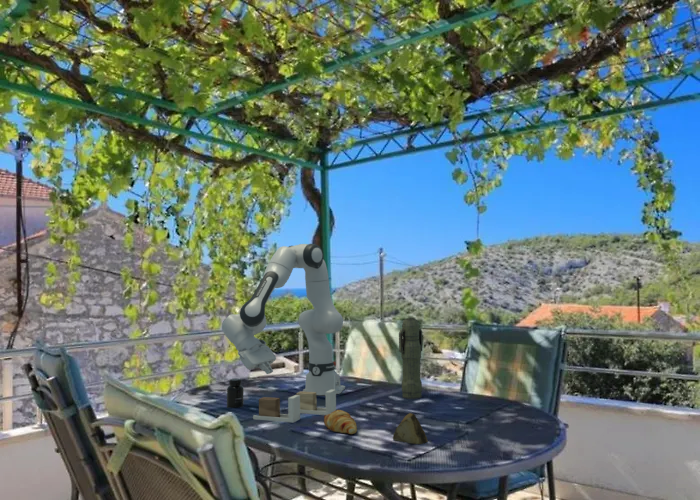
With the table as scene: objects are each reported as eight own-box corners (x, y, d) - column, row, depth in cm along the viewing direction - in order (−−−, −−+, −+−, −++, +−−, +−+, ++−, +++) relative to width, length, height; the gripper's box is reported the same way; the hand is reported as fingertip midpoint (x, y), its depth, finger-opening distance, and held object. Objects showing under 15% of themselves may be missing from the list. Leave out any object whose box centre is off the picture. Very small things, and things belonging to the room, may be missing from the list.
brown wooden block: (263, 416, 223) (263, 397, 223) (280, 417, 220) (279, 398, 221) (259, 418, 219) (258, 399, 220) (275, 420, 217) (275, 400, 217)
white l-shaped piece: (297, 411, 234) (297, 387, 235) (336, 414, 228) (335, 389, 229) (291, 415, 229) (290, 390, 229) (330, 418, 223) (330, 392, 223)
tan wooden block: (300, 410, 233) (300, 391, 233) (316, 411, 230) (316, 392, 231) (296, 412, 229) (296, 393, 230) (312, 413, 227) (312, 394, 227)
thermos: (395, 397, 260) (393, 318, 262) (415, 393, 267) (413, 317, 268) (408, 400, 253) (406, 320, 254) (428, 396, 259) (426, 318, 261)
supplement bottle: (239, 410, 238) (239, 381, 239) (224, 409, 240) (224, 380, 240) (246, 406, 245) (245, 378, 246) (230, 406, 247) (230, 377, 247)
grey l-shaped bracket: (260, 418, 224) (260, 392, 225) (300, 421, 218) (299, 395, 219) (253, 421, 219) (252, 395, 220) (293, 425, 213) (293, 398, 214)
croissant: (362, 444, 199) (371, 422, 201) (340, 435, 195) (349, 412, 197) (331, 430, 217) (339, 409, 219) (310, 421, 213) (319, 400, 215)
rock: (383, 434, 191) (401, 436, 183) (394, 410, 195) (412, 412, 187) (406, 450, 195) (425, 453, 186) (416, 426, 199) (435, 428, 190)
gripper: (241, 345, 230) (262, 371, 226) (266, 340, 249) (286, 364, 245) (231, 356, 231) (252, 382, 227) (257, 350, 250) (277, 374, 246)
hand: (270, 372), depth 236 cm, fingers closed
